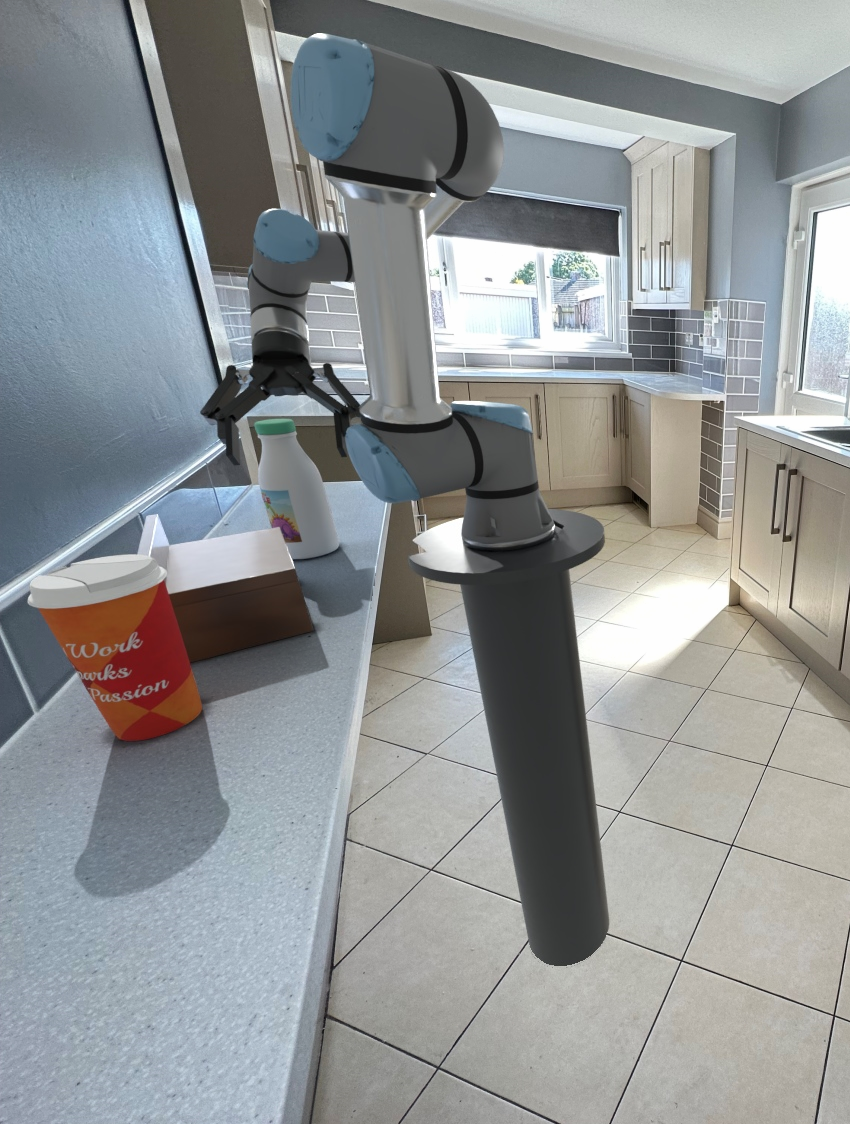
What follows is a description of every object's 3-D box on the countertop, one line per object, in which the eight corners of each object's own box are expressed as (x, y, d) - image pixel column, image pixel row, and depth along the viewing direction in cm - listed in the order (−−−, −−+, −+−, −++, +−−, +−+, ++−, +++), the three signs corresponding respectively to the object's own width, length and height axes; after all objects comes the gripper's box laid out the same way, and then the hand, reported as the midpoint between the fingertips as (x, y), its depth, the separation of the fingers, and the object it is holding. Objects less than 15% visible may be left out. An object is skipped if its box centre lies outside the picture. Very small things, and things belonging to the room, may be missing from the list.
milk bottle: (333, 538, 99) (300, 414, 92) (346, 551, 94) (311, 421, 87) (276, 550, 94) (235, 420, 87) (286, 564, 89) (243, 427, 82)
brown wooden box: (296, 581, 84) (271, 497, 79) (314, 631, 71) (284, 534, 67) (181, 605, 77) (146, 515, 72) (178, 665, 64) (135, 560, 60)
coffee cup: (69, 747, 52) (-14, 589, 46) (159, 692, 60) (98, 550, 54) (162, 752, 52) (91, 593, 46) (241, 695, 59) (189, 553, 54)
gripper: (374, 359, 107) (388, 462, 100) (194, 363, 97) (196, 477, 90) (364, 328, 100) (378, 435, 94) (170, 328, 90) (170, 449, 84)
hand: (289, 456), depth 92 cm, fingers open, 13 cm apart
